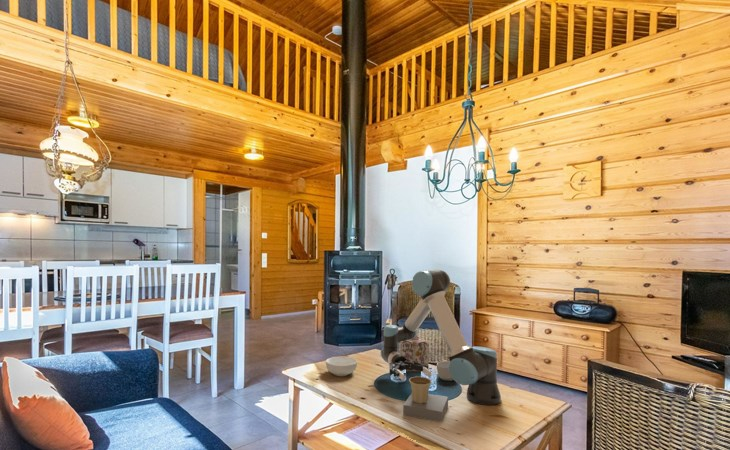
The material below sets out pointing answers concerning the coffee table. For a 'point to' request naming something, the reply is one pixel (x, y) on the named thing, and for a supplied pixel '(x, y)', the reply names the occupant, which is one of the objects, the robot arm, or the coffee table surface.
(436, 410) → the plinth
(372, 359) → the coffee table surface
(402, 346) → the decorative jar
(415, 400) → the flower pot
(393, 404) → the coffee table surface
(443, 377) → the teacup
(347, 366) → the cereal bowl
